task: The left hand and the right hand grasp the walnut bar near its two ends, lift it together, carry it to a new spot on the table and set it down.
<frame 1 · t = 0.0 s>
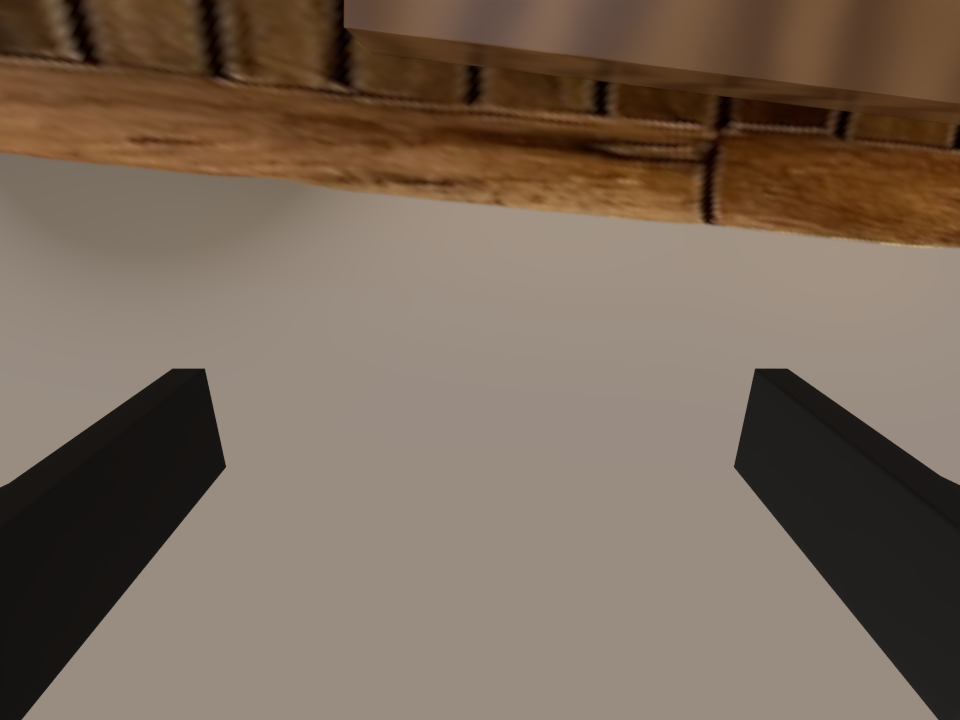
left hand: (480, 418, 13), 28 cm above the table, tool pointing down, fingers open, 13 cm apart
bar: (890, 74, 34), on the table
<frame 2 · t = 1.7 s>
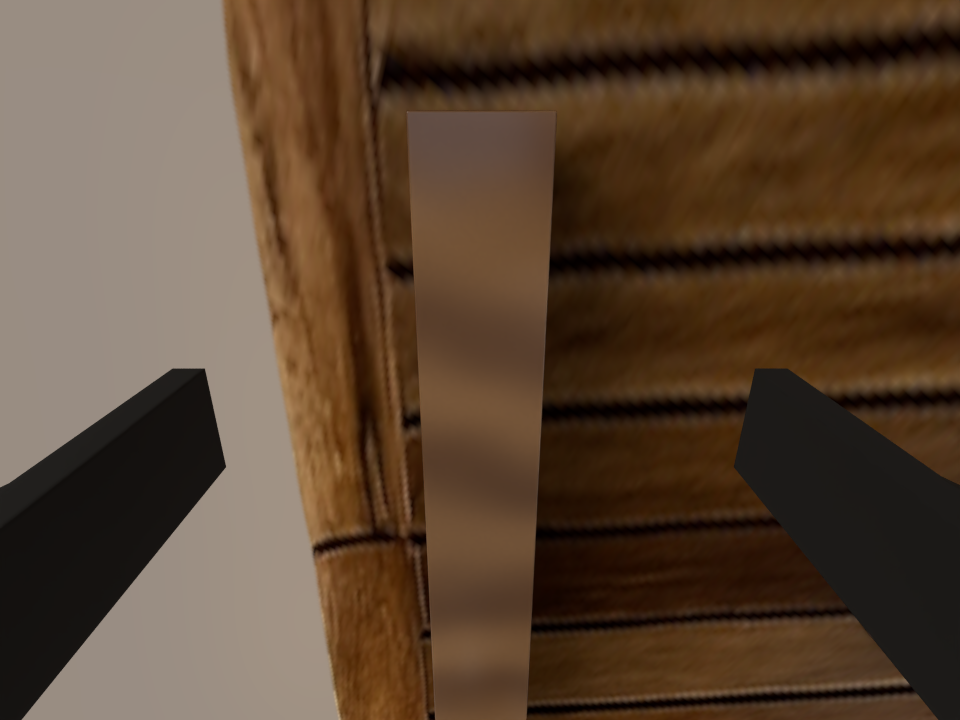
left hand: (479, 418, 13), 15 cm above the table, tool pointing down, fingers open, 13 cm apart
bar: (480, 655, 37), on the table
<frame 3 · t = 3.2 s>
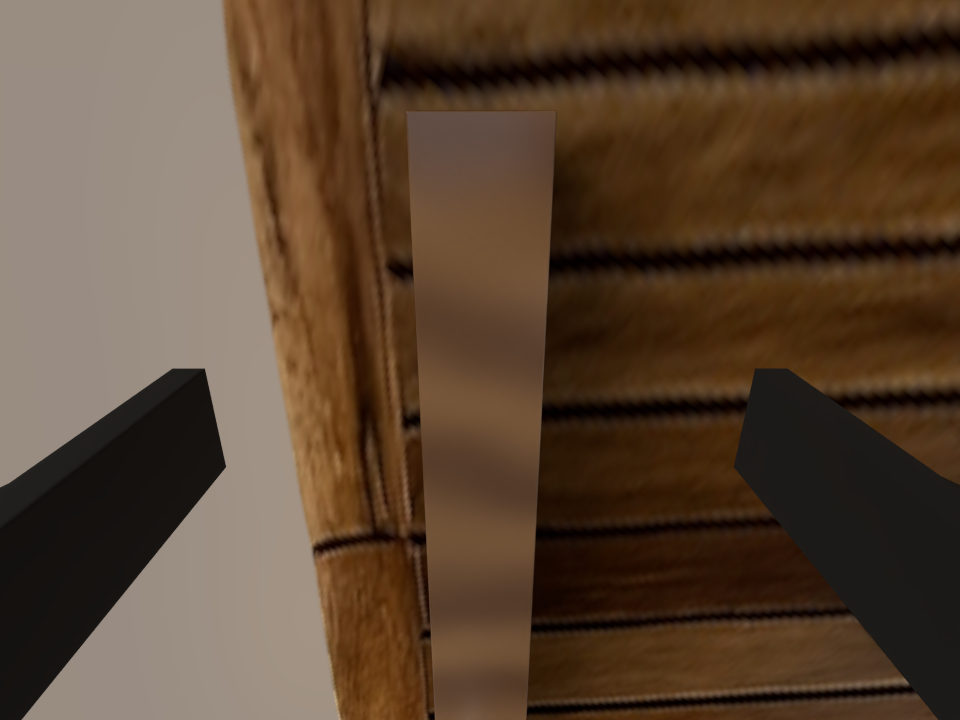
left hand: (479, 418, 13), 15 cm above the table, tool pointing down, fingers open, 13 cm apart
bar: (480, 655, 37), on the table, touching right hand
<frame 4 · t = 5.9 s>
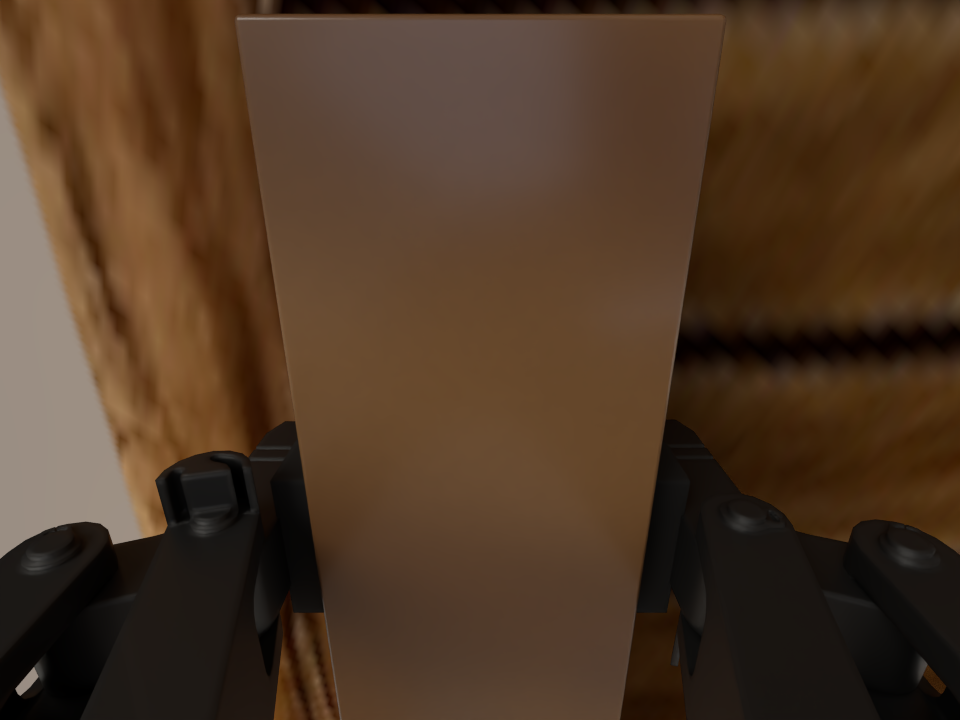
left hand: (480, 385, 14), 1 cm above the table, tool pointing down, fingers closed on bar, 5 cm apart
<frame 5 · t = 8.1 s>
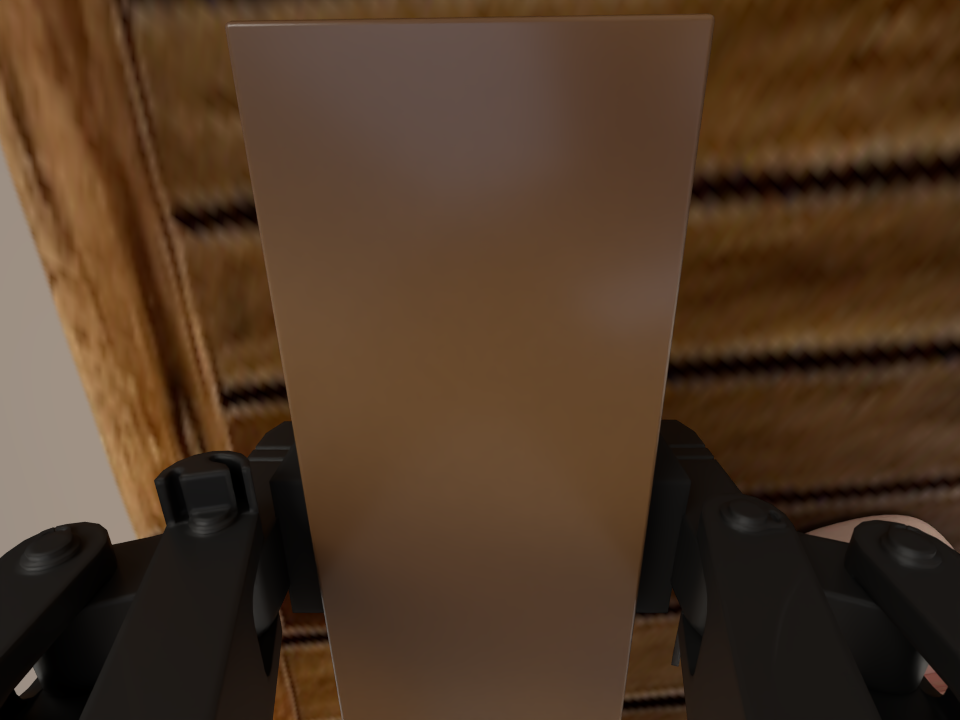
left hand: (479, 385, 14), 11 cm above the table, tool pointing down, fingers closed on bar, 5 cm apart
anatomical model: (863, 590, 31), on the table
when the left hand's fingers open (2 cm above the table, at t = 10.2 s): bar drops 1 cm, on the table.
when the right hand's fingers open (2 cm above the table, at t = 10.2 s): bar drops 1 cm, on the table.
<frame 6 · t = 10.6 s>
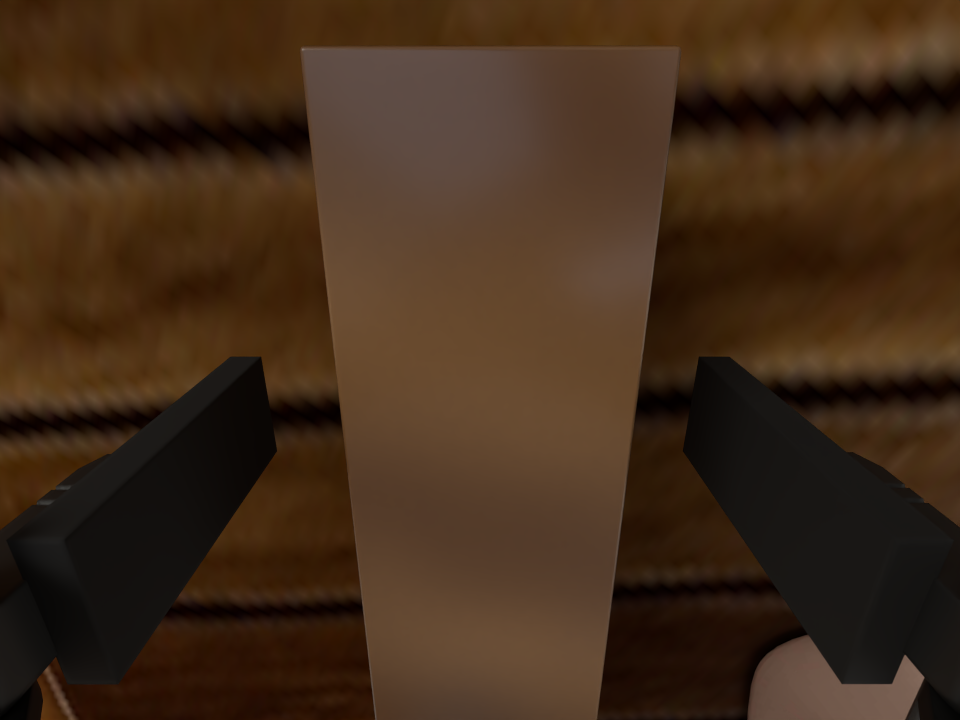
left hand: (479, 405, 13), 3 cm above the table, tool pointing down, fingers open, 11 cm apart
anatomical model: (882, 708, 23), on the table
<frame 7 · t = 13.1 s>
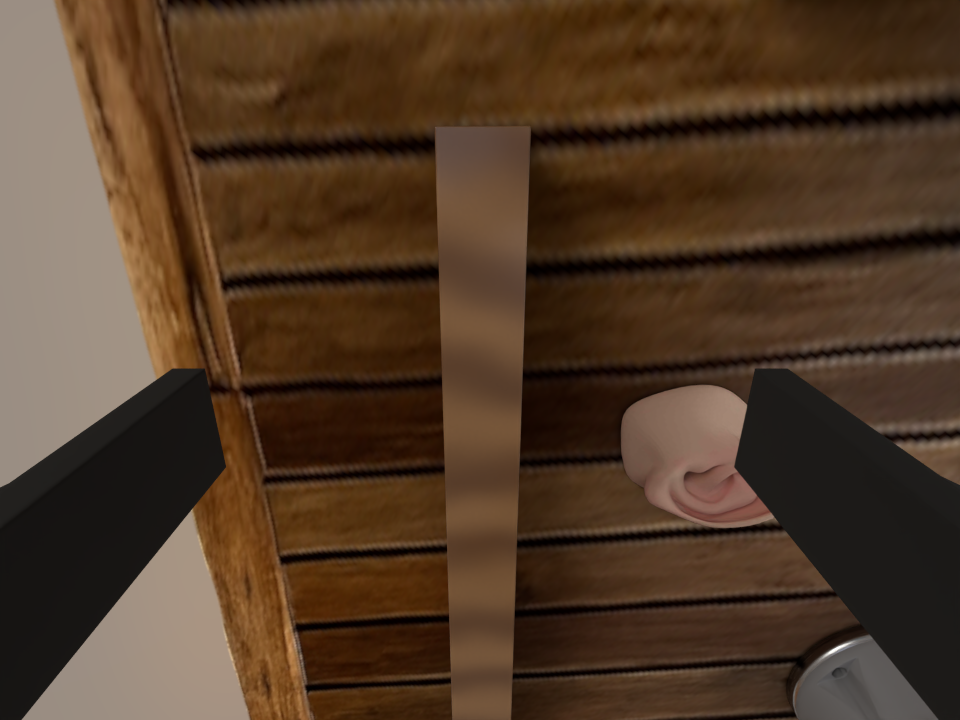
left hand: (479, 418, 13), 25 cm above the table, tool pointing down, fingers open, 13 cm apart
bar: (481, 551, 46), on the table
anatomical model: (694, 448, 42), on the table
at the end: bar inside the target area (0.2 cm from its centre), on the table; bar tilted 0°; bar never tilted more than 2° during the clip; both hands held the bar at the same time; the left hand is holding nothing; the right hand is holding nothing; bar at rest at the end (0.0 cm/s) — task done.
